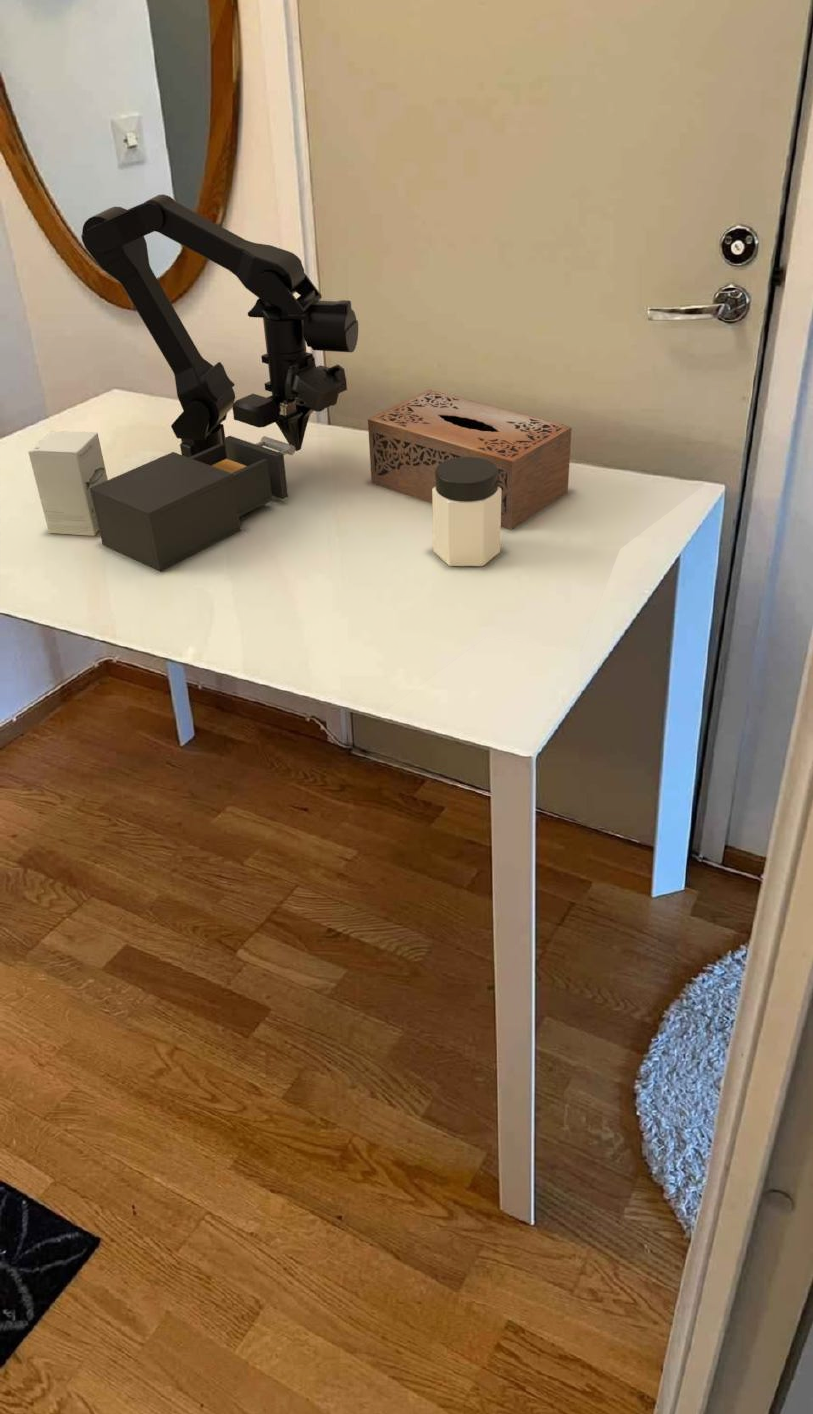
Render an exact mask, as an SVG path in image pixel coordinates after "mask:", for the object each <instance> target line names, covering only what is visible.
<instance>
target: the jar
mask: <svg viewBox="0 0 813 1414" xmlns="http://www.w3.org/2000/svg"><path fill="white" fill-rule="evenodd" d="M498 484H499V474H498V467H497V466H496V465H495V464H494V463H493V462H491V461H489V460H486V459H482V458H477V457H458V458H453V459H449V460H446V461H444V462H442V463H440V464H439V465H438V466H437V468H436V470H435V487H434V488H433V489H432V503H431V504H432V544H433V549H432V550H433V552H434V554H435V555H437V556H438V557H439V558H440V559H441V560H442V561H443V562H444V563H446V565H447V566H449V567H484V566H485V565H486V564H487V563H489V562H490V561H491V560H492V559H493V558H495V557H496V556H497V555H499V553H500V552H501V538H502V537H501V536H502V534H501V533H502V526H501V491H502V490H501V488H500V487H499V486H498Z"/></svg>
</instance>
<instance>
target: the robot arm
mask: <svg viewBox="0 0 813 1414" xmlns="http://www.w3.org/2000/svg"><path fill="white" fill-rule="evenodd" d="M155 232H156V233H159V234H161V235H162V236H164V237H167V238H168V239H170V240H172V241H174V242H175V243H177V244H179V245H181V246H183V247H185V248H187V249H189V250H191V251H193V252H194V253H195V254H198V255H200V256H201V257H203V258H205V259H207V260H208V261H210V262H213V263H214V264H216V265H218V266H219V267H222V268H223V269H225V270H227V271H228V272H231V274H233V275H234V276H235V277H236V278H237V279H238V280H239V282H240V283H241V284H242V285H243V287H244V288H245V289H246V290H248V291H249V292H250V293H251V294H253V295H254V296H255V297H257V298H258V299H256V302H255V304H254V305H253V307H252V308H251V309H250V310H248V311H247V317H249V318H257V319H260V318H261V319H262V324H263V330H264V340H265V350H266V353H265V354H262V355H260V356H261V363H262V364H266V365H267V367H268V376H269V381H267V382H265V383H263V384H264V390H265V391H267V392H270V393H271V395H270V396H267V397H265V396H263V395H260V394H257V393H251V394H249V395H246V396H244V397H241V398H239V399H236V393H235V389H234V388H233V387H234V386H236V385H235V383H234V382H233V381H232V380H231V379H230V377H229V376H228V374H227V372H226V369H225V367H224V365H223V364H222V362H220V361H219V362H216V363H215V364H214V365H213V364H211V363H210V362H209V361H207V360H206V359H204V357H203V356H202V355H201V353H200V351H199V350H198V348H197V346H196V345H195V343H194V341H193V339H192V337H191V336H190V333H189V332H188V330H187V329H186V327H185V325H184V324H183V322H182V320H181V318H180V316H179V315H178V313H177V312H176V309H175V308H174V306H173V304H172V302H171V301H170V299H169V297H168V295H167V294H166V292H165V291H164V288H163V286H162V285H161V283H160V281H159V280H158V278H157V276H156V275H155V273H154V271H153V269H152V267H151V264H150V258H149V250H148V245H147V244H148V243H147V241H146V238H145V236H147V235H149V234H152V233H155ZM80 237H81V241H82V244H83V246H84V248H85V249H86V251H87V252H88V254H89V255H90V256H91V257H92V259H93V260H94V262H95V263H96V264H97V265H98V266H99V268H100V269H101V270H102V271H104V272H105V273H107V274H108V276H110V277H112V278H113V279H114V280H116V281H117V282H118V283H119V284H120V285H121V287H122V288H123V290H124V291H125V293H126V295H127V296H128V299H129V300H130V301H131V303H132V305H133V306H134V308H135V310H136V312H137V314H138V315H139V317H140V318H141V320H142V322H143V324H144V325H145V327H146V328H147V330H148V332H149V334H150V336H151V337H152V340H154V343H155V344H156V346H157V347H158V349H159V351H160V353H161V354H162V356H163V357H164V359H165V361H166V363H167V364H168V366H169V368H170V369H171V371H172V373H173V376H174V382H175V383H174V384H175V389H176V395H177V396H176V397H177V400H178V401H179V403H180V406H181V409H182V410H183V411H182V412H181V413H180V414H179V416H178V417H177V418H176V419H175V420H174V421H173V422H172V424H171V425H170V427H171V430H172V431H173V433H174V435H175V437H176V439H178V440H179V439H180V442H181V443H180V444H179V448H180V455H183V456H186V457H188V458H189V457H191V456H193V455H196V454H198V453H200V452H202V451H205V450H207V449H209V448H211V447H214V446H216V445H218V444H224V448H225V442H224V438H225V437H226V432H225V425H224V424H223V422H224V421H226V420H227V417H228V413H229V412H230V411H231V410H232V413H233V415H232V416H233V420H234V421H237V422H240V423H244V424H246V425H249V426H252V427H255V428H266V427H267V426H270V425H272V424H274V423H275V424H276V426H277V427H278V428H279V430H280V432H281V433H282V435H283V436H284V438H285V440H286V442H287V444H290V445H293V446H294V447H295V452H298V451H300V450H302V447H303V443H304V438H305V434H306V429H307V426H308V422H309V419H310V416H311V415H312V414H313V412H323V411H324V410H325V409H327V408H329V407H334V406H335V405H337V403H338V398H339V394H341V393H343V392H345V391H348V385H347V377H346V371H345V368H344V367H342V366H341V365H339V364H336V365H333V366H331V367H329V366H324V365H322V364H321V365H316V361H315V360H316V359H315V357H314V354H313V353H312V352H309V351H307V347H308V348H311V349H312V351H317V352H318V351H320V352H335V353H336V352H337V353H353V352H355V350H356V347H357V344H358V339H359V320H358V319H357V315H356V313H355V311H354V309H352V301H351V300H348V299H346V300H345V299H340V300H336V301H335V300H322V294H321V292H320V291H319V290H318V288H317V287H316V285H314V283H313V282H312V281H311V279H310V278H309V276H308V275H307V274H306V273H305V269H304V265H303V262H302V260H301V258H299V256H297V254H295V253H293V252H292V251H289V250H286V249H283V248H281V247H276V246H274V245H271V244H265V243H258V242H253V241H250V240H247V239H245V238H243V237H241V236H239V235H238V234H235V233H234V232H232V231H230V230H228V229H226V228H224V227H223V226H221V225H219V224H217V223H215V222H213V221H212V220H210V219H208V218H206V217H204V216H203V215H200V214H198V212H197V213H196V212H195V211H193V210H192V209H190V208H187V207H186V206H184V205H182V204H180V203H178V202H177V201H175V199H174V198H173V197H171V196H169V195H167V194H163V193H162V194H158V195H155V196H153V197H152V198H149V199H148V200H146V201H144V202H142V203H140V204H137V205H135V206H133V207H130V208H128V209H126V208H124V207H121V206H112V207H110V208H109V207H108V208H107V209H104V210H103V211H101V212H100V213H97V214H95V215H92V216H91V217H89V218H88V219H86V221H84V223H83V226H82V231H81V235H80ZM296 293H297V294H298V295H299V296H298V297H295V294H296ZM225 455H226V448H225ZM226 459H227V455H226Z"/></svg>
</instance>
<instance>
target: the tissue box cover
mask: <svg viewBox="0 0 813 1414" xmlns="http://www.w3.org/2000/svg"><path fill="white" fill-rule="evenodd" d="M367 427H368V429H367V431H368V445H369V462H370V464H369V465H370V479H371V480H370V481H371V484H375V485H377V486H381V487H383V488H385V489H389V490H392V491H396V492H399V493H401V494H404V495H407V496H410V497H413V498H416V499H419V500H422V501H425V502H428V503H431V504H432V489H433V488H434V487H435V470H436V468H437V466H438V465H439V464H440V463H442V462H444V461H446V460H449V459H453V458H458V457H477V458H482V459H486V460H489V461H491V462H493V463H494V464H495V465H496V466H497V467H498V474H499V484H498V486H499V487H500V488H501V490H502V491H501V528H502V527H503V528H506V529H509V530H512V529H514V528H516V527H517V526H518V525H519V524H521V523H523V522H524V521H526V520H527V519H529V518H530V517H532V516H533V515H535V514H537V513H538V512H540V511H541V510H543V509H544V508H546V507H548V506H549V505H550V504H552V503H553V502H555V501H557V500H558V499H560V498H561V497H562V496H564V495H566V494H567V493H568V492H569V477H570V475H569V474H570V460H571V445H572V428H573V427H572V426H569V425H565V424H561V423H557V422H553V421H550V420H546V419H542V418H539V417H535V416H531V415H527V414H523V413H520V412H516V411H512V410H508V409H505V408H501V407H498V406H493V405H489V404H487V403H481V402H478V401H474V400H471V399H467V398H462V397H459V396H455V395H451V394H447V393H444V392H440V391H437V390H433V389H428V390H426V391H424V392H422V393H420V394H418V395H415V396H412V398H409V399H406V400H405V401H403V402H401V403H399V404H397V405H395V406H393V407H391V408H388V409H386V410H384V411H382V412H379V413H378V414H376V415H374V416H372V417H370V418H368V419H367Z"/></svg>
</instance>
